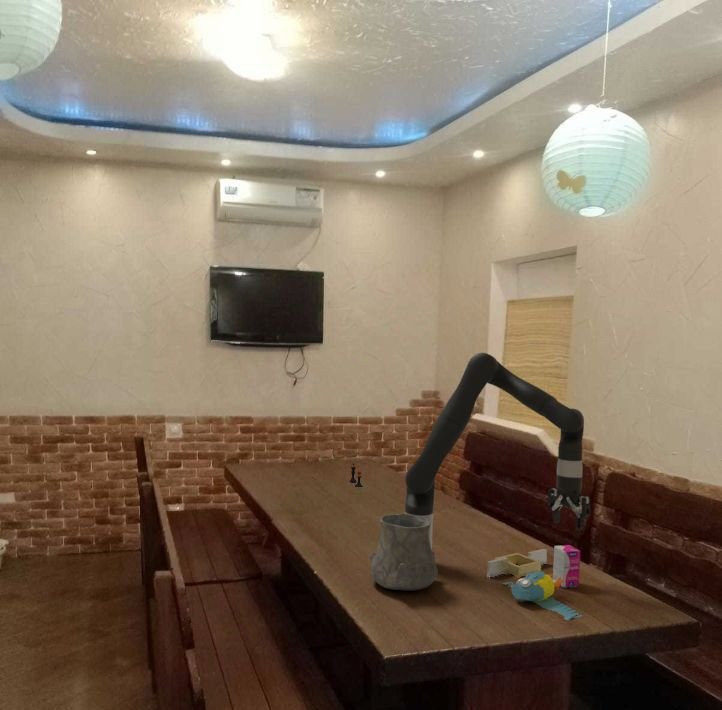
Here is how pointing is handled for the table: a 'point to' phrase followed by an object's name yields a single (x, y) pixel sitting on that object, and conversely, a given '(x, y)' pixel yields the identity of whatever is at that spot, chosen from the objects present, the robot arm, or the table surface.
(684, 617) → the table surface
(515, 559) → the square frame with handle
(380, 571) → the vessel
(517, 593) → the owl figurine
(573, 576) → the supplement box
